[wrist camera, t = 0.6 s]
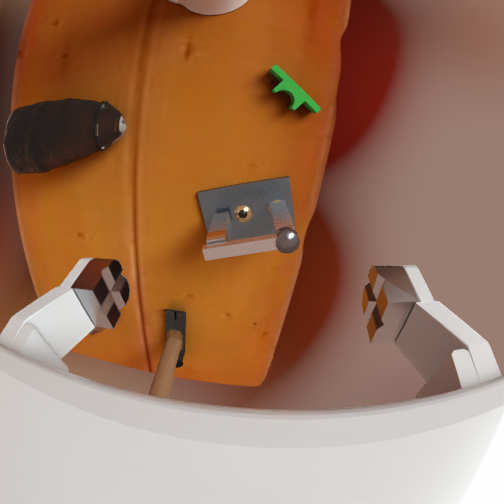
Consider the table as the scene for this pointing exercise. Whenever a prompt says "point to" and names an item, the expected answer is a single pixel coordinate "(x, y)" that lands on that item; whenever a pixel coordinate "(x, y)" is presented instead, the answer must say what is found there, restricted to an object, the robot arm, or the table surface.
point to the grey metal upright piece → (260, 238)
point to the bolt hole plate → (247, 205)
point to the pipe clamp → (292, 91)
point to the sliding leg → (219, 228)
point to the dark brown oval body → (59, 133)
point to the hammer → (170, 353)
